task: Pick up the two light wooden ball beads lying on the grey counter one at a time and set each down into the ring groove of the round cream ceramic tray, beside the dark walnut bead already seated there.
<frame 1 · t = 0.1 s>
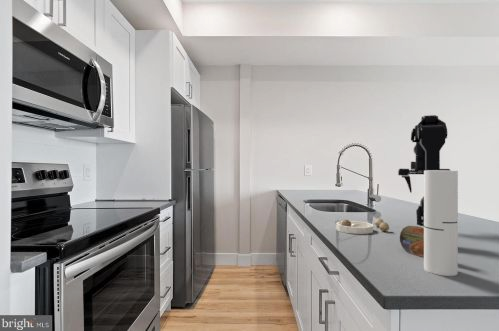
hand: (423, 193, 127), 15 cm above the countertop, tool pointing down, fingers open, 9 cm apart
oak bead: (384, 226, 121), point 2 cm above the countertop
tin: (425, 257, 88), on the countertop
cylindrical container: (440, 271, 76), on the countertop
walnut bead: (346, 224, 122), point 3 cm above the countertop, touching groove tray
groove tray: (354, 230, 123), on the countertop
maple bead: (379, 222, 130), point 2 cm above the countertop
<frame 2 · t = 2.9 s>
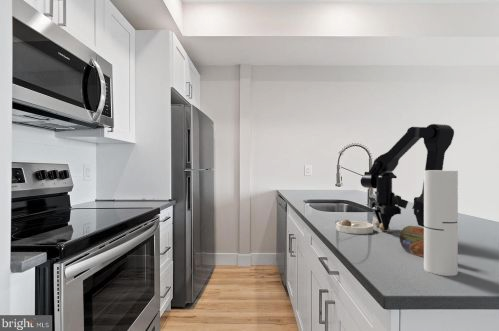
hand: (384, 228, 121), 1 cm above the countertop, tool pointing down, fingers closed on oak bead, 4 cm apart
oak bead: (384, 226, 121), point 2 cm above the countertop, touching gripper
everything else where it was.
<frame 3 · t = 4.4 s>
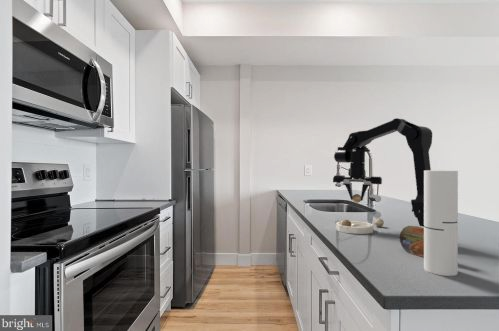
hand: (356, 200, 127), 12 cm above the countertop, tool pointing down, fingers closed on oak bead, 4 cm apart
oak bead: (356, 198, 127), point 12 cm above the countertop, touching gripper
everything else where it was.
when the fingers open (3 cm above the countertop, at t = 6.2 s): oak bead drops 1 cm, resting on groove tray.
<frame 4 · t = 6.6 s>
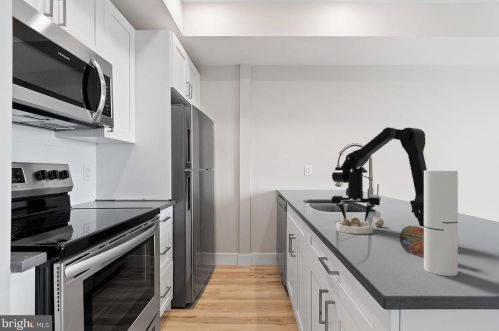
hand: (355, 220, 127), 3 cm above the countertop, tool pointing down, fingers open, 8 cm apart
oak bead: (355, 221, 127), point 3 cm above the countertop, touching groove tray
everything else where it was.
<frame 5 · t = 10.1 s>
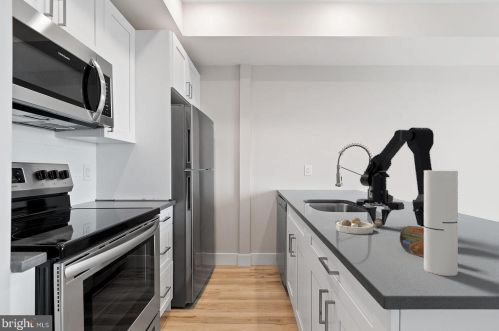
hand: (379, 224, 130), 1 cm above the countertop, tool pointing down, fingers closed on maple bead, 4 cm apart
oak bead: (356, 221, 127), point 3 cm above the countertop, tilted 9°, touching groove tray
maple bead: (379, 222, 130), point 2 cm above the countertop, touching gripper
everything else where it was.
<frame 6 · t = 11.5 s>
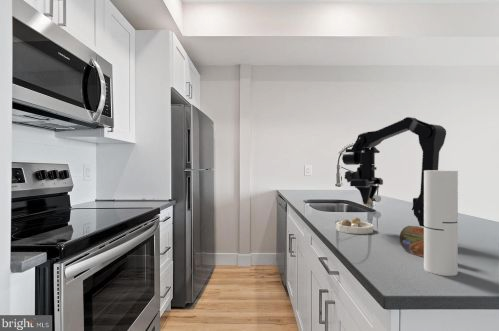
hand: (367, 203, 123), 11 cm above the countertop, tool pointing down, fingers closed on maple bead, 4 cm apart
maple bead: (367, 201, 123), point 12 cm above the countertop, touching gripper
everything else where it was.
when the fingers open (3 cm above the countertop, at t = 13.4 s): maple bead drops 1 cm, resting on groove tray.
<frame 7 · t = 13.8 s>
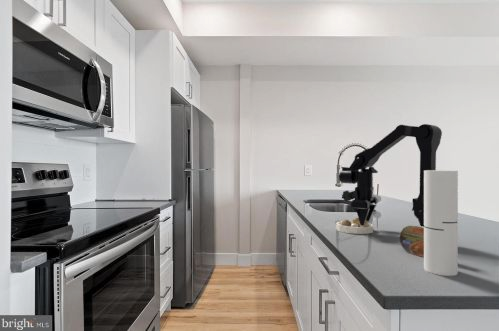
hand: (364, 223, 121), 3 cm above the countertop, tool pointing down, fingers open, 8 cm apart
oak bead: (356, 221, 127), point 3 cm above the countertop, tilted 17°, touching groove tray
maple bead: (364, 224, 121), point 3 cm above the countertop, touching groove tray
everything else where it was.
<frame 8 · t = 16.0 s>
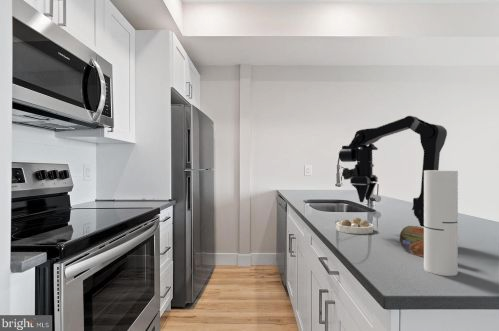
hand: (364, 201, 121), 12 cm above the countertop, tool pointing down, fingers open, 9 cm apart
oak bead: (357, 222, 127), point 3 cm above the countertop, tilted 22°, touching groove tray
maple bead: (364, 224, 121), point 3 cm above the countertop, tilted 7°, touching groove tray
everything else where it was.
at the end: oak bead inside the target area on the groove tray (4.1 cm from its centre), point 2.6 cm above the groove tray's base; maple bead inside the target area on the groove tray (3.9 cm from its centre), point 2.6 cm above the groove tray's base; walnut bead 4.0 cm from the groove tray (horizontally) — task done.
